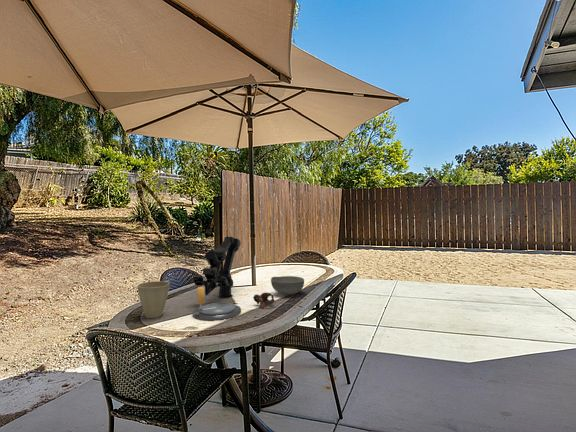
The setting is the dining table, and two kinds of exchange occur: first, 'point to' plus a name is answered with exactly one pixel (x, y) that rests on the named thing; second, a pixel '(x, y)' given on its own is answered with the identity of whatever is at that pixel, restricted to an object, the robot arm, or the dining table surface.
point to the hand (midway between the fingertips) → (206, 295)
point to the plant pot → (153, 297)
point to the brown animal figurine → (264, 299)
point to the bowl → (287, 284)
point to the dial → (213, 306)
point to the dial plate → (216, 317)
